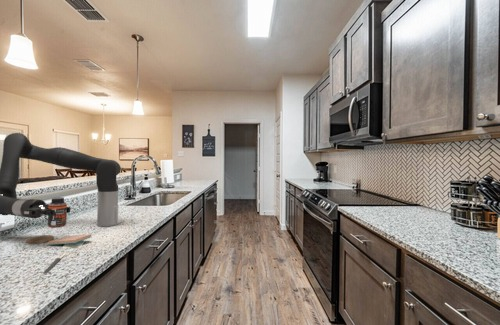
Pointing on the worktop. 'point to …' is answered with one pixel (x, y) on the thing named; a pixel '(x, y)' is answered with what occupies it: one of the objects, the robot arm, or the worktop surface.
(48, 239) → the coaster
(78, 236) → the tile
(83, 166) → the robot arm
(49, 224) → the supplement bottle
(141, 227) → the worktop surface
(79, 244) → the spatula
